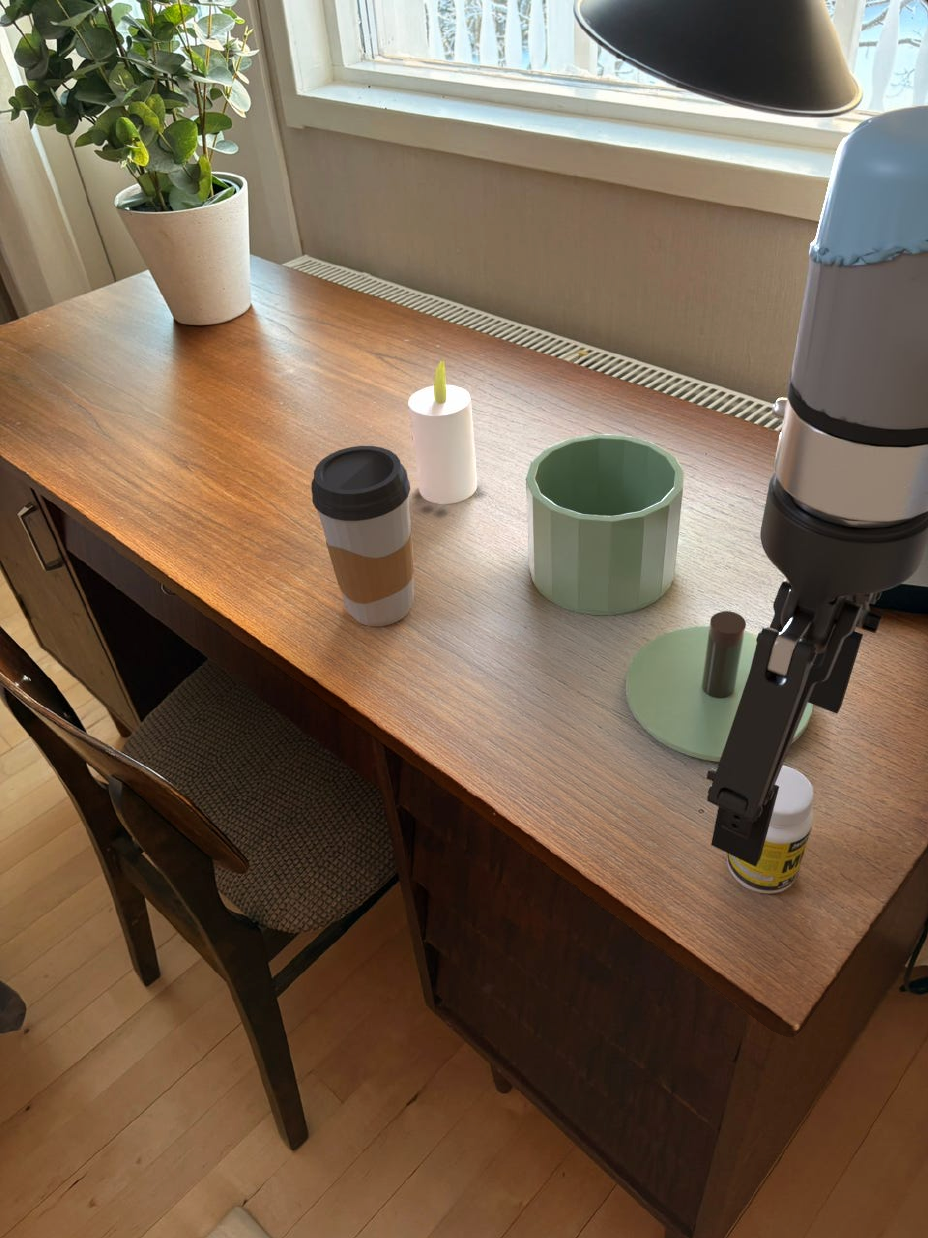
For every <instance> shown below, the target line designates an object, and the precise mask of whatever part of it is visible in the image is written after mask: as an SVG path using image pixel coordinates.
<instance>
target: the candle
mask: <svg viewBox="0 0 928 1238" xmlns="http://www.w3.org/2000/svg"><path fill="white" fill-rule="evenodd" d="M446 381H447V380H446V364H445V361H444V359H442V360H440V361H439V363H437V367H436V369H435V372H434V378H433V385H430V386H426V387H422V388H420V389H418V390H416V391H415V392H414V393H412V394H411V395H410V397H409V398H408V402H407V404H408V411H409V420H410V428H411V439H412V444H413V451H414V452H413V453H414V459H415V467H416V475H417V483H418V490H419V494H420V496H421V498H423V499H424V500H425V501H428V502H430V503H432V504H440V505H451V504H456V503H460V502H464V501H466V500H468V499H469V498H470V497H472V496H473V495H474V494H475V492H476V491H477V490H478V489H477V488H478V476H477V464H476V463H477V462H476V452H475V450H476V449H475V438H474V437H475V436H474V426H473V425H474V424H473V423H474V422H473V411H472V399H471V394H470V393H469V392H468V390H467V389H465V388H463V387H460V386H457V385H453V384H447V382H446Z"/></svg>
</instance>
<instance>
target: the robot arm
mask: <svg viewBox="0 0 928 1238" xmlns="http://www.w3.org/2000/svg"><path fill="white" fill-rule="evenodd" d="M835 153H836V154H835V158H834V162H833V166H832V170H831V174H830V178H829V182H828V186H827V191H826V194H825V199H824V202H823V205H822V206H823V207H822V211H821V214H820V219H819V223H818V227H817V231H816V236H815V237H814V240H813V241H811V243H810V246H809V252H808V257H809V262H808V271H807V276H806V282H805V283H806V284H805V289H804V296H803V301H802V308H801V313H800V319H799V324H798V332H797V338H796V343H795V349H794V353H793V354H794V355H793V361H792V366H791V371H790V376H789V381H788V385H787V395H786V397H779V398H778V399H777V400H776V402H775V403H774V404H773V406H772V407H771V413H772V416H773V417H774V418H776V419H778V420H780V421H781V420H782V427H781V432H780V434H779V436H778V441H777V446H776V452H775V457H774V465H773V466H774V467H773V470H774V472H773V474H772V475H771V477H770V480H769V483H768V489H767V494H766V500H765V504H764V510H763V515H762V520H761V527H760V534H759V535H760V543H761V546H762V547H761V548H762V549H763V551H764V553H765V555H766V557H767V558H768V560H769V561H770V562H771V563H772V564H773V566H775V567H776V568H777V569H778V571H779V572H781V574H782V575H783V576H784V579H783V580H782V582H781V584H780V586H779V587H778V591H777V593H776V596H775V599H774V601H773V605H772V608H773V612H774V615H773V617H772V619H771V623H770V625H769V626H766V625H764V627H762V629H761V631H759V632H758V634H757V635H758V636H757V639H756V642H757V644H756V648H755V652H754V657H753V661H752V665H751V669H750V673H749V676H748V679H747V682H746V685H745V688H744V691H743V694H742V697H741V699H740V702H739V705H738V708H737V711H736V714H735V717H734V720H733V723H732V726H731V729H730V732H729V735H728V738H727V741H726V744H725V747H724V750H723V753H722V756H721V759H720V762H718V766H717V768H716V767H712V768H710V769H708V771H707V773H706V780H709V781H711V782H712V783H711V784H710V786H709V787H708V790H707V797H706V799H707V802H708V803H711V804H713V805H715V806H716V807H717V812H716V816H715V817H716V818H715V823H714V827H713V833H712V838H711V842H710V845H711V846H712V847H714V848H716V849H717V850H718V849H719V850H721V851H722V852H724V853H726V854H727V853H728V854H730V855H733V856H735V857H737V858H739V859H741V860H743V861H745V862H747V863H749V864H751V865H753V866H755V867H756V865H757V863H758V862H759V860H760V858H761V855H762V851H763V847H764V843H765V839H766V836H767V832H768V828H769V824H770V820H771V817H772V813H773V809H774V805H775V801H776V798H777V794H778V790H779V786H777V785H775V783H776V780H777V778H778V775H779V773H780V770H781V768H782V765H783V766H784V763H785V761H786V758H787V756H788V753H789V750H790V748H791V745H792V744H793V743H792V741H793V738H794V736H795V733H796V731H797V728H798V726H799V723H800V721H801V718H802V716H803V713H804V711H805V708H806V706H807V703H811V704H813V706H816V707H819V708H821V709H824V710H826V711H829V712H831V713H834V714H837V715H838V713H839V712H840V710H841V708H842V706H843V703H844V702H843V701H844V699H845V695H846V693H847V689H848V687H849V682H850V679H851V675H852V672H853V669H854V666H855V663H856V659H857V656H858V652H859V650H860V646H861V643H862V640H863V637H864V633H862V632H858V631H856V629H857V628H858V629H860V630H864V631H867V632H869V633H873V634H876V633H877V631H878V629H879V627H880V625H881V622H882V620H883V614H881V613H877V612H875V611H872V610H870V605H871V604H872V605H875V604H876V602H877V601H878V600H880V597H881V595H882V594H883V593H882V592H884V591H888V590H891V589H893V588H895V587H897V586H900V585H901V584H903V583H905V582H906V581H908V580H909V579H910V578H911V577H912V576H913V575H915V573H916V572H917V570H918V569H919V567H920V566H921V562H922V561H923V558H924V554H925V551H926V549H927V545H928V104H921V105H911V106H905V107H899V108H895V109H891V110H887V111H884V112H882V113H878V114H876V115H873V116H871V117H869V118H867V119H865V120H864V121H862V122H860V123H859V124H858V125H857V126H856V127H855V128H854V129H853V130H852V131H851V132H850V133H848V134H847V135H846V136H845V137H844V138H843V139H842V140H841V142H840V144H839V146H838V148H837V149H836V152H835ZM791 743H792V744H791Z"/></svg>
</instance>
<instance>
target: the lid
mask: <svg viewBox="0 0 928 1238" xmlns="http://www.w3.org/2000/svg"><path fill="white" fill-rule="evenodd" d="M746 627H747V622H746V620H745V618H744V617H743V616H742V615H741V614H739V613H737V612H735V611H729V610H722V611H718V612H715V613H714V614H713V615H712V616H711V618H710V620H709V625H697V626H688V627H683V628H678V629H675V630H672V631H669V632H665V633H663V634H662V635H659V636H657V637H655V638H653V640H650V641H649V642H648V643H646V644H645V645H644V646H642V647H641V649H640V650H638V652H637V653H636V654H635V656H634V657H633V659H632V660H631V662H630V664H629V667H628V669H627V673H626V677H625V695H626V700H627V704H628V707H629V710H630V711H631V713H632V715H633V716H634V718H635V719H636V721H637V722H638V723H639V725H640V726H641V727H642V728H643V729H644V730H645V731H646V732H647V734H649V735H651V736H652V737H653V738H654V739H655V740H657V741H658V742H660V743H661V744H662V745H665V746H666V747H668V748H670V749H672V750H674V751H675V752H678V753H681V754H684V755H686V756H690V757H692V758H696V759H700V760H704V761H710V762H716V763H717V762H718V763H719V762H720V759H721V756H722V753H723V750H724V747H725V744H726V741H727V738H728V735H729V732H730V729H731V726H732V723H733V720H734V717H735V714H736V711H737V708H738V705H739V702H740V699H741V697H742V694H743V691H744V688H745V685H746V682H747V679H748V676H749V673H750V669H751V665H752V661H753V657H754V652H755V648H756V644H757V642H756V639H757V636H758V634H755V633H753V632H749V631H747V630H746V629H747V628H746ZM813 710H814V705H813V704H811V703H807V706H806V708H805V711H804V713H803V716H802V718H801V721H800V723H799V726H798V728H797V731H796V733H795V736H794V738H793V741H792V743H791V745H793V743H795V742H796V741H797V740H798V739H799V738H800V737H801V736H802V734H803V733H804V732H805V730H806V729H807V728H808V726H809V723H810V721H811V718H812V714H813Z"/></svg>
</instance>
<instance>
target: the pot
mask: <svg viewBox="0 0 928 1238" xmlns="http://www.w3.org/2000/svg"><path fill="white" fill-rule="evenodd" d="M684 481H685V470H684V468H683V467H682V466H681V464H680V463H679V461H678V459H677V458H676V456H675V455H674V454H673V453H671V452H669V451H668V450H666V449H665V448H663V447H661V446H659V444H656V443H655V442H652V441H649V440H645V439H642V438H638V437H634V436H631V435H623V434H605V433H595V434H589V435H588V434H587V435H583V436H577V437H570V438H568V439H565V440H563V441H561V442H558V443H556V444H553V445H550V446H548V447H547V448H545V449H543V451H542V452H541V453H539V454H538V455H537V456H536V457H535V458H534V459H533V460H531V462H530V463H529V467H528V470H527V473H526V477H525V497H526V498H525V500H526V527H527V529H526V530H527V531H526V532H527V554H528V555H527V557H528V559H527V562H528V569H529V574H530V577H531V581H532V583H533V585H534V587H535V588H536V590H537V591H538V592H539V593H540V594H541V595H542V596H543V597H544V598H546V599H547V600H548V601H550V602H551V603H553V604H555V605H556V606H558V607H561V608H563V609H565V610H567V611H571V612H574V613H579V614H584V615H591V616H617V615H624V614H629V613H633V612H635V611H639V610H642V609H644V608H646V607H649V606H650V605H652V604H653V603H655V602H657V601H658V600H660V599H661V598H662V597H663V596H664V595H665V594H666V593H667V592H668V590H669V589H670V587H671V586H672V584H673V581H674V579H675V572H676V563H677V554H678V553H677V552H678V544H679V534H680V533H679V532H680V522H681V512H682V502H683V494H684V493H683V492H684V484H685V483H684Z"/></svg>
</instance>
